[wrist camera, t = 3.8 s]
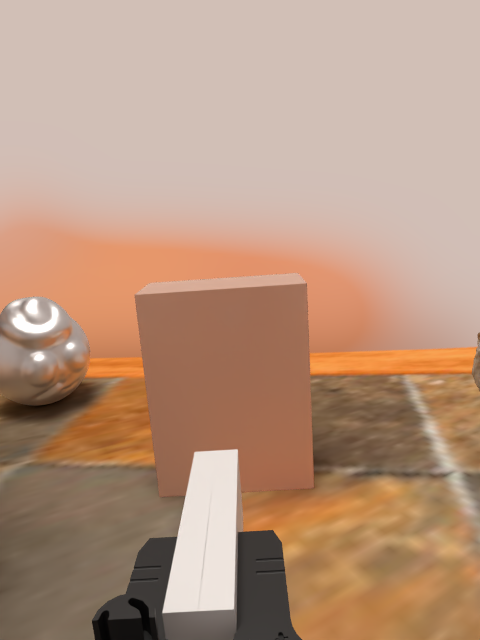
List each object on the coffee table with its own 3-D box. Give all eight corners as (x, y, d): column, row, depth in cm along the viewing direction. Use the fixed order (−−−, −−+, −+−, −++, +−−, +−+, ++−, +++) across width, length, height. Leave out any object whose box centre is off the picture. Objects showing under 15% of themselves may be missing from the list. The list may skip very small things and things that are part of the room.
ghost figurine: (-25, 432, 37) (-52, 311, 35) (11, 390, 46) (-9, 291, 44) (91, 417, 38) (72, 299, 36) (103, 378, 47) (89, 282, 45)
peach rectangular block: (170, 460, 31) (149, 283, 28) (305, 452, 31) (297, 273, 28) (159, 497, 27) (134, 294, 24) (314, 488, 27) (306, 283, 24)
